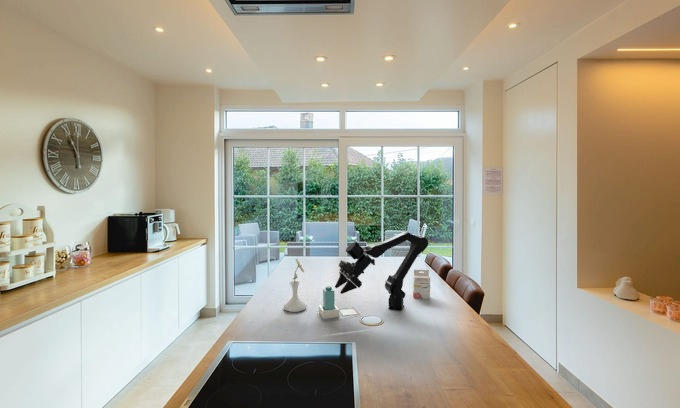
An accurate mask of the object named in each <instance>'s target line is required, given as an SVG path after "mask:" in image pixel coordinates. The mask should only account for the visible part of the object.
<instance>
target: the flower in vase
mask: <svg viewBox="0 0 680 408" xmlns="http://www.w3.org/2000/svg"><path fill="white" fill-rule="evenodd" d="M295 262H296V264H297V266H296V269H295V271H294V275H293V276H294V277H293V278H292V281H289V284H290V285H291V288H292V296H291V298H290V299H289V300H288V301H287V302H285V304H284V305H283V309H284V310H285V311H287V312H290V313H298V312H301V311H304V310H306V309H307V307H308V306H307V303H306V302H305V301H304V300H302V299H301V298H299V296H298V289H299V285H300V284H301V282H300V281H299V280H296V279H298V275H297V270H298V268H299V270H300V271H301V272H303V273H305V269H304V268H303V266H302V264H300V261H299V260H298V258H295Z"/></svg>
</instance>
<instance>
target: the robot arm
mask: <svg viewBox="0 0 680 408" xmlns="http://www.w3.org/2000/svg"><path fill="white" fill-rule="evenodd" d="M405 242H410V244H409V249H408V252H407V253H406V254H405V257H404V259H403V260H402V262H401V264H400V265H399V266H398V269H397V270H396V272H395V273H394V274H393V275H388V277H387V278H386V280H385V281H384V282H385V284H384V288H385V290H386V291H387V292H388V294H389V298H388V309H389V310H396V311H402V310H403V309H404V307H405V304H404V298H406V292H405V291H404V290H403V289H402V288H403V285H404V280H405V277H406V276H407V274H408V272H409V271H410V269H411V267H412V266H413V264H414V263H415V261H416V259H417V257H418V256H419V255H420V254H423V252H424V251H425V250H426V249H427V248H428V246H429V241H428V238H426V237H424V236H421V235H414V234H412V233H410V232H408V231H402V232H400V233H399V234H397V235H394V236H392V237H391V238H390V237H389V238H388V239H386V240H384V241H380V242H373V243H371V244H370V243H369V244H368V245H367V246H364V247H362V246H361V245H360V244H359V243H358V242H357V241H354V242H353V243H351V244H350V245H349V244H348V246H347V247H346V249H345V252H346V254H348V255H349V256H350V258H352V259H353V260H356V261H355V262H349V261H344V260H342V259H341V260H340V261H339V263H338V267H339V268H340V269H339V277H338V279H337V281H336V284H335V286H334V288H335V289H338V288H340V287H342V285H344V286H343V287H342V289H341V290H340V294H341V295H343V294H345V293H348V292H350V291H353V290H355V289H360V288H361V287H362V285H363V284H362V283H363V282H362V281H361V280H360V279H359V277H360V276H361V275H364V273H365V270H366V269H367V268H368V267H369V266H370V265H373V266H375V265H376V259H377V258H379V257H380V256H382V255H384V254H385V252H386V251H388V250H389V249H392V248H394V247H396V246H399V245H401V244H403V243H405ZM365 254H366V255H365ZM371 257H372V258H371Z"/></svg>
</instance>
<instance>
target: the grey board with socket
mask: <svg viewBox="0 0 680 408" xmlns="http://www.w3.org/2000/svg"><path fill="white" fill-rule="evenodd" d="M315 312H316V314H317V316H318V318H319V319H320V321H321V322H329V321H334V320H336V321H337V320H344V319H351V318H358V317H359V318H360V317H362V314H361V313H359V312H358V310H356V308H355V307H354V306H350V307H349V306H348V307H340V308H339V307H338V306H337V305H336V304H335V309H333V310H324V309H323V304H322V305H321V304H320V305H318V310H315Z"/></svg>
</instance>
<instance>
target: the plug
mask: <svg viewBox="0 0 680 408" xmlns="http://www.w3.org/2000/svg"><path fill="white" fill-rule="evenodd" d="M335 297H336V296H335V290H334V288H333V287H332V286H326V287H325V288H322V302H323V304H322V305H323V309H324V310H333V309H335V305H336V304H335Z"/></svg>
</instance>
